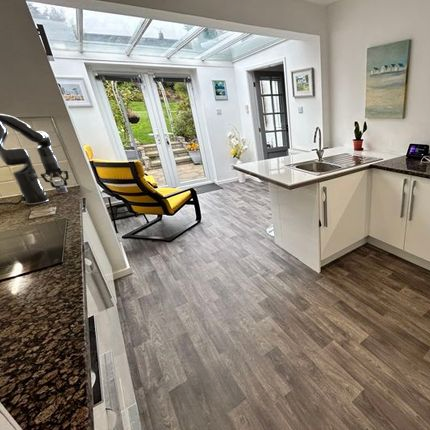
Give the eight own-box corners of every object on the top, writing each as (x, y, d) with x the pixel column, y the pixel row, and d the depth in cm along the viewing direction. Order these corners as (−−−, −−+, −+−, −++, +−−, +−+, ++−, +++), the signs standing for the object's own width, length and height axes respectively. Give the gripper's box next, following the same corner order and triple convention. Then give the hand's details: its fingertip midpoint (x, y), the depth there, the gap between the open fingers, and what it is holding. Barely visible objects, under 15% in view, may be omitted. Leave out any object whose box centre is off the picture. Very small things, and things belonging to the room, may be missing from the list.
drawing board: (32, 211, 148) (31, 210, 148) (56, 207, 154) (55, 206, 154) (29, 219, 137) (28, 218, 137) (55, 214, 143) (54, 213, 143)
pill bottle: (56, 193, 182) (50, 181, 179) (65, 191, 187) (59, 179, 183) (60, 194, 181) (55, 181, 177) (69, 191, 185) (64, 179, 182)
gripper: (64, 160, 183) (74, 183, 189) (35, 163, 174) (46, 187, 180) (64, 161, 177) (74, 185, 184) (34, 164, 169) (45, 190, 175)
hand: (60, 186), depth 182 cm, fingers closed on pill bottle, 5 cm apart
